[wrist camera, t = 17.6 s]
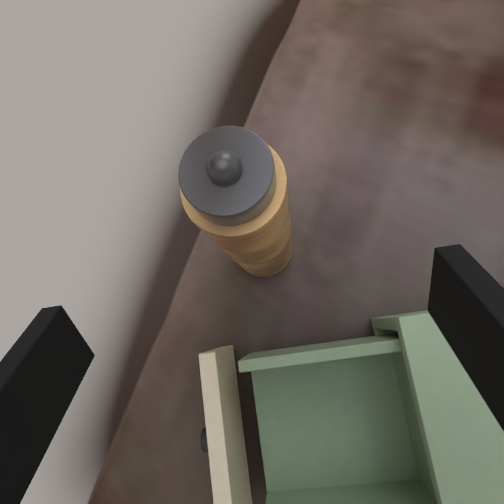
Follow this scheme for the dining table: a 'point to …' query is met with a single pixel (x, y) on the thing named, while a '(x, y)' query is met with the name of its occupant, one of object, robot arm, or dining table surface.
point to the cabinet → (449, 414)
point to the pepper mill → (239, 197)
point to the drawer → (318, 424)
